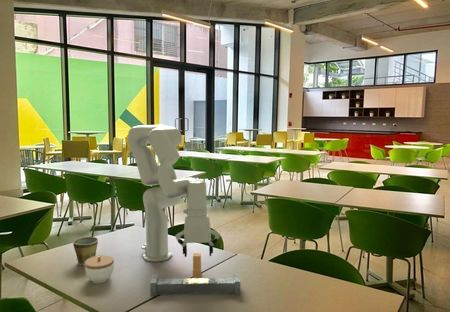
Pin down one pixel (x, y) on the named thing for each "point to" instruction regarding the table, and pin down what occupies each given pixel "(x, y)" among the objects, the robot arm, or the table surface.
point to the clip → (196, 265)
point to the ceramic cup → (85, 248)
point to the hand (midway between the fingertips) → (198, 255)
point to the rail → (195, 286)
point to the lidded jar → (99, 268)
